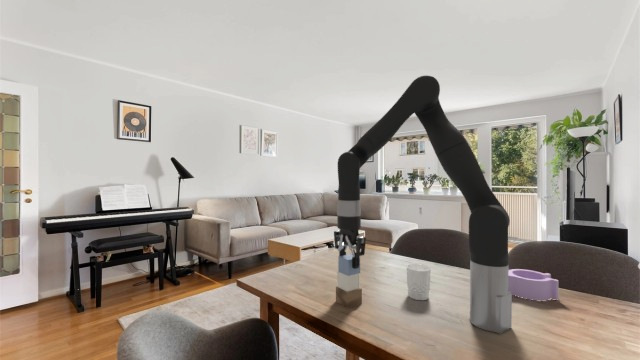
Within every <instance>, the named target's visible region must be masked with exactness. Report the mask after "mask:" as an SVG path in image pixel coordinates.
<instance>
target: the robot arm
mask: <svg viewBox="0 0 640 360" xmlns="http://www.w3.org/2000/svg"><path fill="white" fill-rule="evenodd" d="M440 92H441V87H440V83H439V81H438V79H437V78H436V77H434V76H432V75H428V74H426V75H420V76H418V77H416V78H415V79H413V80H412V82H411V83H410V85H409V86H408V87H406V89H405V91H404V92H403V93H402V95H400V97H399V98H398V100H397V101H396V102H395V103H394V104H393V105H392V107H391V108H390V109H389V110H387V112H386V113H384V115H383V116H382V117H381V118H380V119H379V120H378V121H377V122H376V123H374V124H373V126H371V127H370V128H369V129H368V130H367V131H365V132H364V134H363V135H362V136H360V138H359V139H358V141H357V142H356V143H355V145H353V146H352V147H351V148H350V149H349V150H347V151H345V152H343V153H342V154H340V156H339V157H338V159H337V178H338V179H337V180H338V188H337V189H338V190H337V192H338V193H337V195H338V196H337V200H338V201H337V207H336V208H337V209H336V210H337V223H336V225H337V229H339V230H334V231H333V239H334V241H333V242H334V248H335V250H337V252H338V256H343V255H347V248H348V249H349V251H350V253H351V255H352V256H353V257H352V268H354V269H356V268H359V257H360V258H361V257H362V256H365V254H366V253H365V251H366V241H367V238H366V236H361V235H360V233H359V230H360V229H361V228H362V223H361V221H362V220H361V219H362V212H361V211H362V210H361V209H362V208H361V188H360V187H361V186H360V170H361V167H363V166H364V165H365V164H366V163H367V162H368V160H369V159H371V158H372V157H373V156H374V155H375V154H377V153H378V152H379V151H380V150H381V149H383V148H384V146H386V144H388V142H390V141H391V139H392V138H393V137H394V136H395V135H396V133H398V131H399V130H400V128H401V127H402V126H403V125H404V123H405V122H406V121H407V120H408V119H409V118H410V117H411V116H412V115H413V114H414V115H415V116H416V118H417V119H418V120H419V123H420V124H421V125H422V126H423V129H424V131H425V132H426V134H427V137H428V140H429V142H430V145H431V147H432V148H433V151H434V153H435V155H436V157H437V159H438V161H439V163H440V165H441V167H442V169H443V171H444V172H445V174H446V175H447V176H448V177H449V179H450V180H451V181H452V183H453V184H454V185H455V186H456V188H457V189H458V190H459V191H460V193H461V194H462V196H463V198H464V200H465V201H466V204H467V207H468V208H469V211H470V214H469V215H470V216H469V219H468V250H469V253H470V255H469V256H470V260H469V261H470V262H469V263H470V265H469V266H470V267H469V270H470V271H469V272H470V273H469V276H470V277H469V321H470V323H471V324H472V325H474V326H475V327H477V328H479V329H481V330H485V331H487V332H495V333H497V334H502V333H504V332H506V331H508V330H510V329H511V328H512V324H513V323H512V321H513V320H512V316H513V315H512V313H513V312H512V311H513V309H512V307H513V305H512V304H513V301H512V300H513V298H512V297H513V296H512V293H511V292H508V270H509V268H510V267H509V263H510V262H509V261H510V260H509V259H510V257H509V256H510V255H509V227H510V216H509V213H508V211H507V210H506V209H505V208H504V206H503V205H502V204H501V202H500V201H499V199H498V198H497V197H496V195H495V194H494V192H493V190H492V189H491V188H490V186H489V184H488V182H487V180H486V178H485V175H484V173H483V171H482V168H481V166H480V164H479V161H478V160H477V158H476V156H475V153H474V151H473V150H472V148H471V146H470V144H469V143H468V140H467V139H466V138H465V136H464V135H463V134H462V132H461V131H459V129H458V128H457V127H455V125H454V124H452V123H451V122H450V120H449V119H448V117H447V116H446V113H445V112H444V110H443V107H442V105H441V103H440V99H439V97H440ZM509 328H510V329H509Z"/></svg>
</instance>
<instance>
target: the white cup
mask: <svg viewBox="0 0 640 360" xmlns="http://www.w3.org/2000/svg"><path fill="white" fill-rule="evenodd" d="M431 269H432V268H431V267H430V266H428V265H426V264H419V263H412V264H411V263H410V264H407V265H406V285H407V295H408V297H409V298H410V299H412V300H416V301H426V300H428V299H429V298H430V290H431V289H430V288H431V287H430V286H431V273H432V270H431Z"/></svg>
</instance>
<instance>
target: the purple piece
mask: <svg viewBox="0 0 640 360" xmlns="http://www.w3.org/2000/svg"><path fill="white" fill-rule="evenodd" d="M508 292H511V293H512V295H516V296H519V297H523V298H527V299H533V300H548V299H550V298H552V299H556V300H557V299H558V300H559V280H558V279H556V278H555V279H554V278H552V275H551V273H548V272H545V273H543V272H540V271H536V270H531V269H521V268H514V269H513V268H512V269H508ZM516 296H515V297H516ZM519 297H518V298H519Z"/></svg>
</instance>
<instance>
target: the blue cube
mask: <svg viewBox="0 0 640 360" xmlns="http://www.w3.org/2000/svg"><path fill="white" fill-rule="evenodd" d="M352 257H353V256H352V253H351V254H346V255H343V256H339V255H338V266H337V267H338V271H337V273H338V272H340V273H343V274H345V275H347V276H350V275H354V274H358V273H359V274H361V256H360V257H359V268H356V269H354V268H352Z"/></svg>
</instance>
